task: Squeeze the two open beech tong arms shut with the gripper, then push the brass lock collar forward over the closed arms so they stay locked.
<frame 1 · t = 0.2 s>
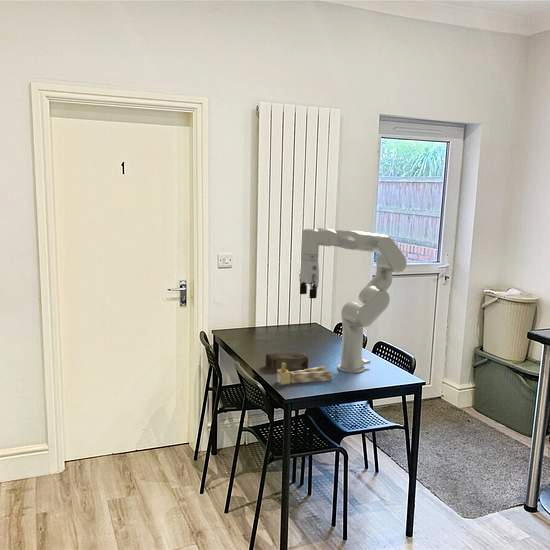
hand: (307, 296, 241), 36 cm above the table, tool pointing down, fingers open, 9 cm apart
tong arm 2: (311, 376, 236), point 2 cm above the table, hinge at -8.0°
lock collar: (283, 372, 233), point 5 cm above the table, slide at 0.0 cm
tong arm 1: (307, 373, 240), point 2 cm above the table, hinge at 8.0°
beverage carton: (286, 368, 255), on the table
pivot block: (283, 383, 234), on the table
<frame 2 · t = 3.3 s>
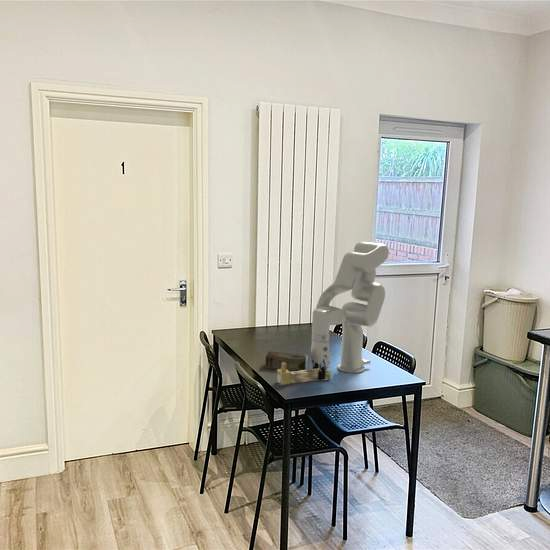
hand: (318, 377, 240), 1 cm above the table, tool pointing down, fingers open, 4 cm apart
tong arm 2: (311, 376, 237), point 2 cm above the table, hinge at -3.5°, touching gripper
tong arm 1: (308, 374, 239), point 2 cm above the table, hinge at 3.1°, touching gripper
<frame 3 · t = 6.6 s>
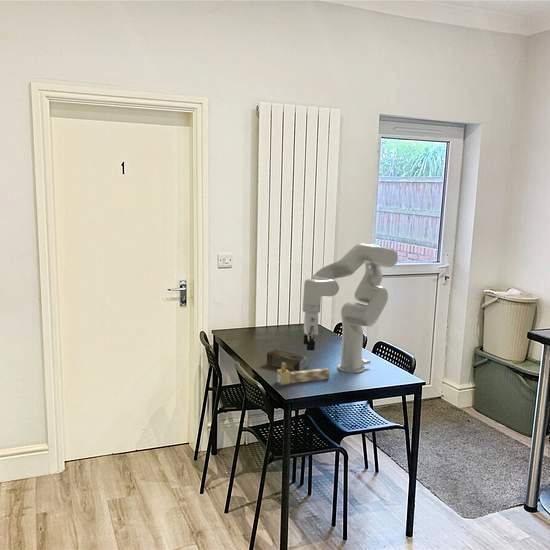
hand: (308, 347, 235), 15 cm above the table, tool pointing down, fingers open, 9 cm apart
tong arm 2: (310, 375, 237), point 2 cm above the table, hinge at 0.5°, touching tong arm 1
tong arm 1: (309, 374, 239), point 2 cm above the table, hinge at -0.8°, touching tong arm 2
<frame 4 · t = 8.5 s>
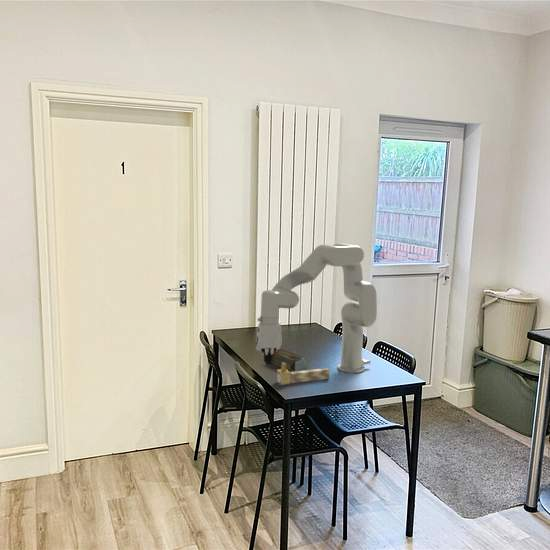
hand: (267, 363, 229), 10 cm above the table, tool pointing down, fingers closed
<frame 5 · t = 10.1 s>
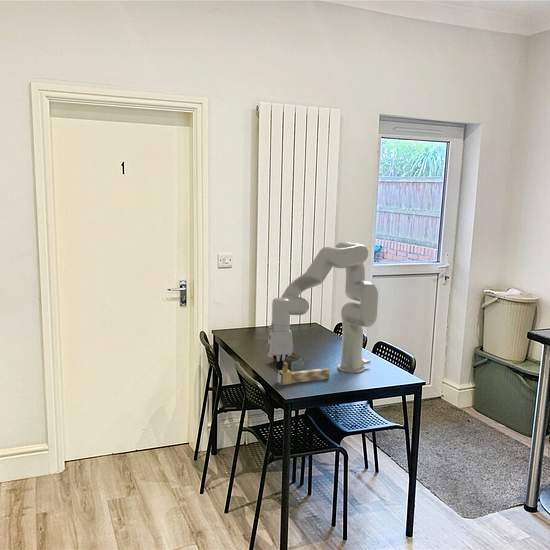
hand: (279, 369, 232), 6 cm above the table, tool pointing down, fingers closed
lock collar: (285, 372, 233), point 5 cm above the table, slide at 0.6 cm, touching gripper
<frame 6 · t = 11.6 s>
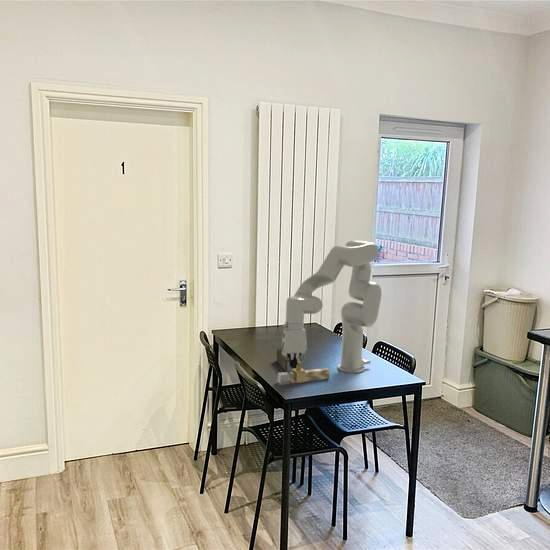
hand: (293, 367, 234), 7 cm above the table, tool pointing down, fingers closed
lock collar: (298, 371, 236), point 5 cm above the table, slide at 7.0 cm, touching gripper
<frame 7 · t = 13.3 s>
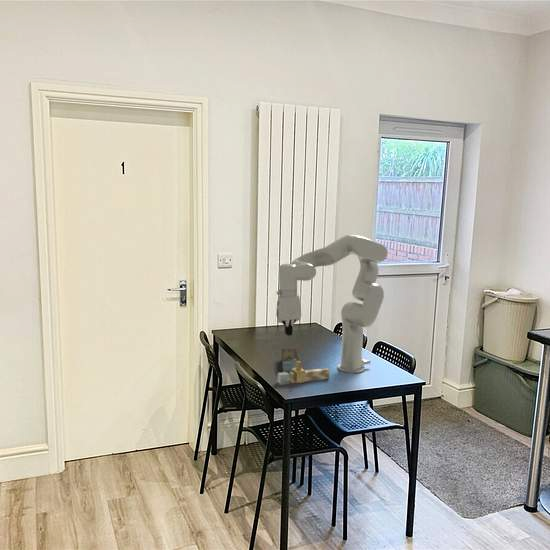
hand: (288, 334, 236), 20 cm above the table, tool pointing down, fingers closed
lock collar: (298, 371, 236), point 5 cm above the table, slide at 7.0 cm
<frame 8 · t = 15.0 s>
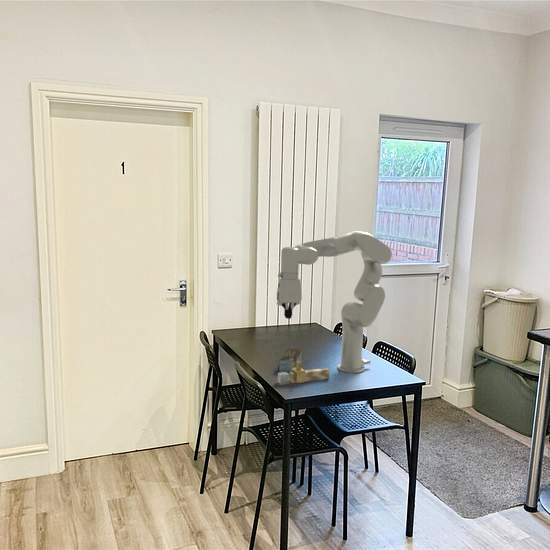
hand: (288, 317, 237), 27 cm above the table, tool pointing down, fingers closed
at the end: tong arm 2 at +0° (first picture: -8°); tong arm 1 at -1° (first picture: +8°); lock collar slide at 7.0 cm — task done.
